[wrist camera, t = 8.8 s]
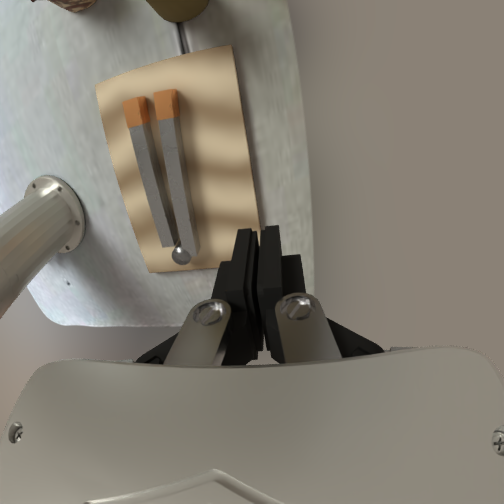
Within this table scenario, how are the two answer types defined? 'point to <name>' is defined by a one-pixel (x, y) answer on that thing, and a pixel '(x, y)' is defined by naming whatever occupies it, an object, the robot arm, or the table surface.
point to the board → (187, 153)
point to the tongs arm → (177, 175)
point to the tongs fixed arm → (150, 169)
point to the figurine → (72, 4)
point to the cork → (178, 9)
